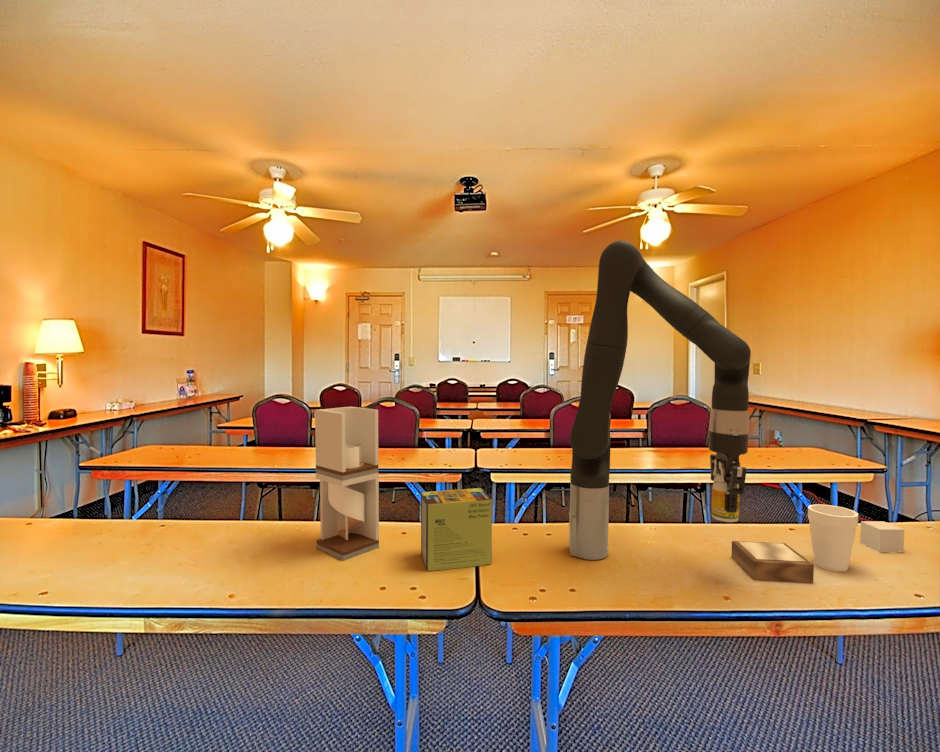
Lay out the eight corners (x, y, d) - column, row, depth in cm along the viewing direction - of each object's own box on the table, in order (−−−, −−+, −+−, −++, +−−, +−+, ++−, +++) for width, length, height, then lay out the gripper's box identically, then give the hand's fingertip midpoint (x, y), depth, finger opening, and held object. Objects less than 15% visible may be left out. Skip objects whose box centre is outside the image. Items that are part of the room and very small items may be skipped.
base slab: (753, 579, 106) (754, 560, 106) (731, 557, 118) (731, 539, 118) (813, 583, 105) (813, 563, 105) (784, 559, 117) (785, 542, 117)
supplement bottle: (719, 512, 110) (721, 470, 110) (743, 519, 106) (745, 476, 105) (706, 516, 107) (707, 473, 107) (730, 524, 103) (732, 479, 102)
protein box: (492, 565, 114) (493, 499, 113) (427, 572, 110) (427, 504, 109) (480, 547, 124) (480, 487, 123) (420, 553, 120) (420, 491, 119)
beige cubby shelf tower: (316, 548, 123) (315, 409, 122) (352, 536, 131) (350, 406, 130) (343, 560, 116) (341, 413, 114) (378, 547, 124) (378, 409, 122)
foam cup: (850, 561, 116) (852, 507, 115) (862, 577, 107) (864, 519, 107) (802, 554, 120) (804, 502, 119) (810, 569, 111) (812, 513, 111)
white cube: (879, 553, 121) (880, 529, 121) (860, 544, 127) (860, 521, 127) (903, 553, 121) (904, 529, 121) (883, 544, 127) (883, 521, 127)
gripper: (699, 424, 113) (696, 496, 114) (722, 435, 99) (719, 517, 100) (733, 425, 112) (730, 498, 113) (762, 436, 98) (758, 519, 99)
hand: (725, 506), depth 106 cm, fingers closed on supplement bottle, 5 cm apart
